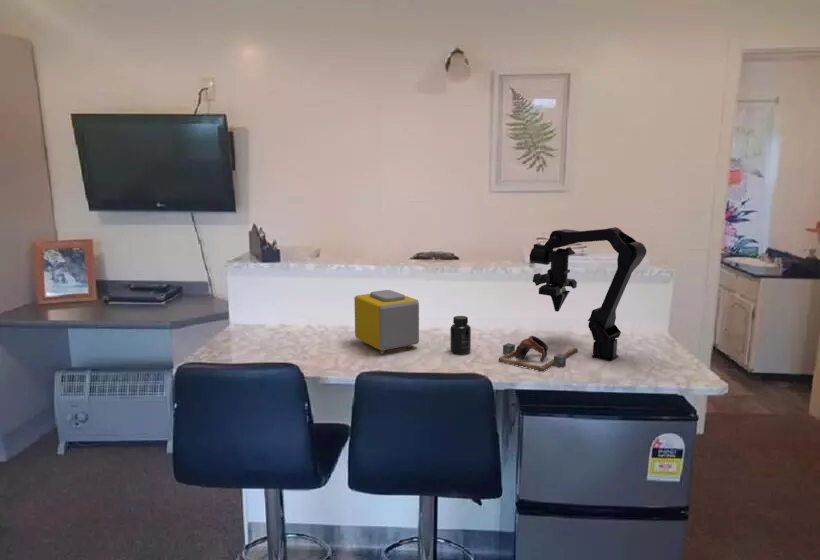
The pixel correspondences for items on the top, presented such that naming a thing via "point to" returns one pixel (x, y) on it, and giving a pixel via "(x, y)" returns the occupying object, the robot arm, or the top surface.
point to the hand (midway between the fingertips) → (556, 311)
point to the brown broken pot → (532, 341)
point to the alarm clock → (387, 319)
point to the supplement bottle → (460, 336)
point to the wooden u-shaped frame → (510, 352)
